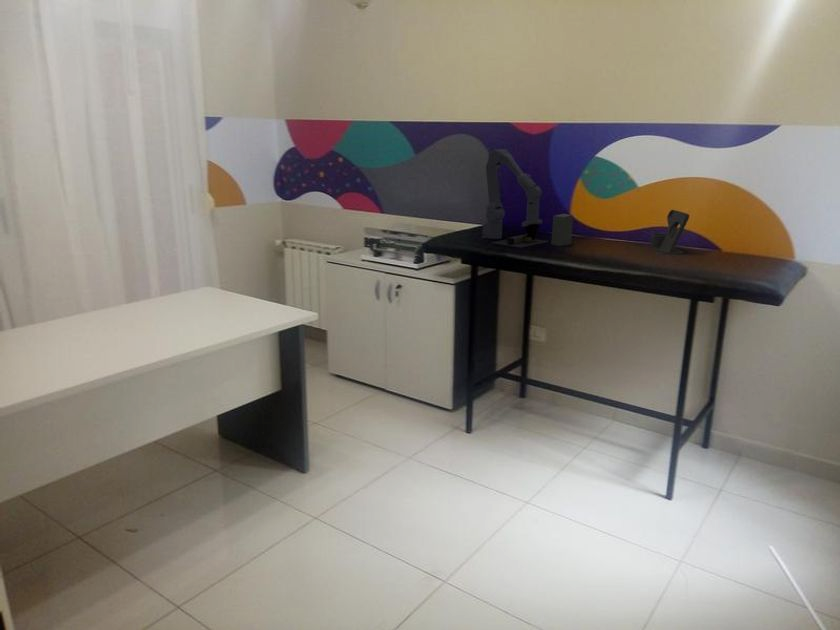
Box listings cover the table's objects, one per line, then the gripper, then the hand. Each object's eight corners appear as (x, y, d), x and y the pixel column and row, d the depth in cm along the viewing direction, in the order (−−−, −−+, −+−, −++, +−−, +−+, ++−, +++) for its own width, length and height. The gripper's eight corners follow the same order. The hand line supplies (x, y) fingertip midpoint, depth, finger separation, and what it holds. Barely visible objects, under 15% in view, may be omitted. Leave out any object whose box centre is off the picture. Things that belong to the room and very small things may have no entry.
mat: (490, 244, 295) (490, 242, 294) (519, 238, 311) (519, 236, 311) (520, 249, 283) (520, 247, 282) (549, 242, 299) (549, 241, 299)
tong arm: (509, 244, 289) (509, 238, 288) (524, 240, 298) (525, 235, 297) (511, 244, 288) (511, 238, 288) (526, 241, 297) (526, 235, 297)
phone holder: (648, 247, 290) (652, 209, 285) (669, 247, 290) (673, 209, 285) (664, 254, 273) (669, 214, 268) (686, 254, 274) (691, 213, 269)
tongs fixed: (506, 244, 290) (506, 237, 289) (526, 240, 301) (526, 233, 301) (510, 245, 289) (511, 238, 288) (530, 240, 300) (530, 234, 299)
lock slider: (523, 241, 295) (524, 237, 295) (527, 241, 297) (527, 236, 297) (527, 242, 294) (528, 237, 293) (531, 241, 296) (531, 237, 295)
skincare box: (561, 244, 296) (563, 213, 292) (571, 246, 292) (574, 214, 287) (550, 246, 291) (552, 214, 287) (560, 247, 286) (562, 216, 282)
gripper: (531, 213, 286) (529, 242, 290) (548, 211, 295) (546, 238, 299) (518, 212, 290) (517, 240, 294) (536, 209, 300) (534, 237, 304)
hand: (531, 239), depth 297 cm, fingers closed
